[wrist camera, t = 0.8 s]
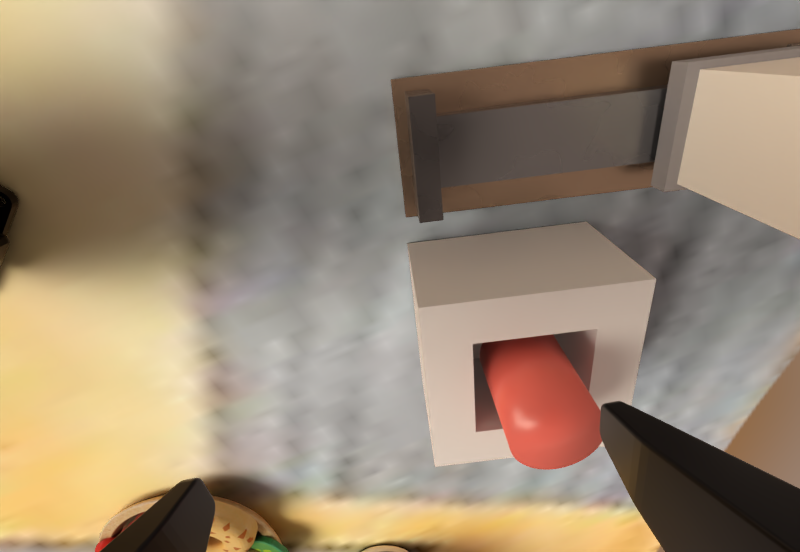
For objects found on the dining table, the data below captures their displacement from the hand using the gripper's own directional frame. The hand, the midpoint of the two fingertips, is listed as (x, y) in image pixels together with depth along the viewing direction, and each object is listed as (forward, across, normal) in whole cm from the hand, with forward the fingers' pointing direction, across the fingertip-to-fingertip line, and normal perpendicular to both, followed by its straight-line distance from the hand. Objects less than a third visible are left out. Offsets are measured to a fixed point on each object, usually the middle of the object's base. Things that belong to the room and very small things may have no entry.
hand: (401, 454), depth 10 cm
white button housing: (+13, +5, -6) cm, 15 cm away
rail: (+13, +11, +3) cm, 17 cm away
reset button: (+9, +5, -6) cm, 12 cm away
